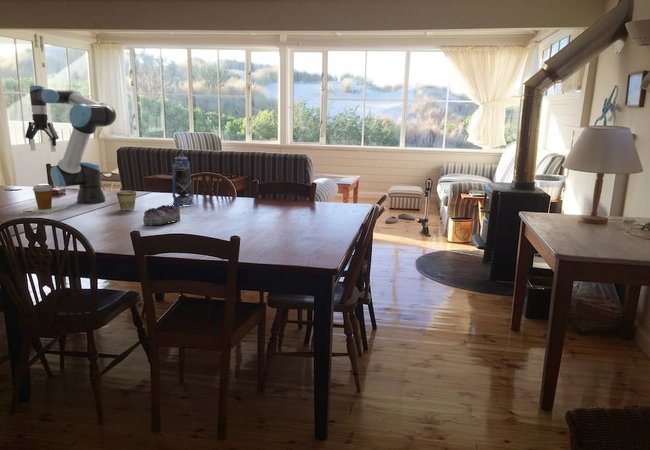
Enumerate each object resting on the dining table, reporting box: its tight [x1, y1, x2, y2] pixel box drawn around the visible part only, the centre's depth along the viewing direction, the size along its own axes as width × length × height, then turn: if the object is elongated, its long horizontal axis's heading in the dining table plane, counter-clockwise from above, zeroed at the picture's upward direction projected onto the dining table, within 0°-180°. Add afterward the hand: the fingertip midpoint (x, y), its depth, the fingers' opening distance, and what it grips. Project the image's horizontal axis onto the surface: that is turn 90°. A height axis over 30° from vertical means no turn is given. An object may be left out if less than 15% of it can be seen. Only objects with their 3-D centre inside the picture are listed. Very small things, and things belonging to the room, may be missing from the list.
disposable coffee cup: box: [32, 184, 54, 209], centre depth 266 cm, size 10×10×12 cm
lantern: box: [171, 153, 194, 206], centre depth 288 cm, size 15×12×30 cm
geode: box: [142, 204, 181, 226], centre depth 245 cm, size 20×12×10 cm, turn 154°
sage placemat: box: [22, 205, 69, 214], centre depth 267 cm, size 15×15×1 cm
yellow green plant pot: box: [116, 190, 137, 211], centre depth 273 cm, size 13×10×10 cm
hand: (43, 151), depth 288 cm, fingers open, 13 cm apart
